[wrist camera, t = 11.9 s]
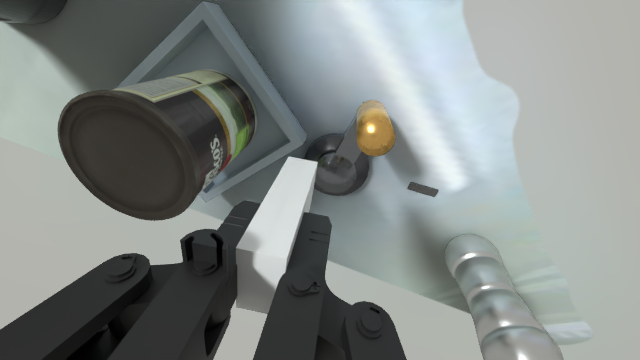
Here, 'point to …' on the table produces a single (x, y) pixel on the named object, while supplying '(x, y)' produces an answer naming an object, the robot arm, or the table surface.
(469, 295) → the plastic bottle
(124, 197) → the coffee can
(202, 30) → the tray
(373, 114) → the crank
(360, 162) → the crank base
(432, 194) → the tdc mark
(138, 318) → the robot arm
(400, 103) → the table surface
